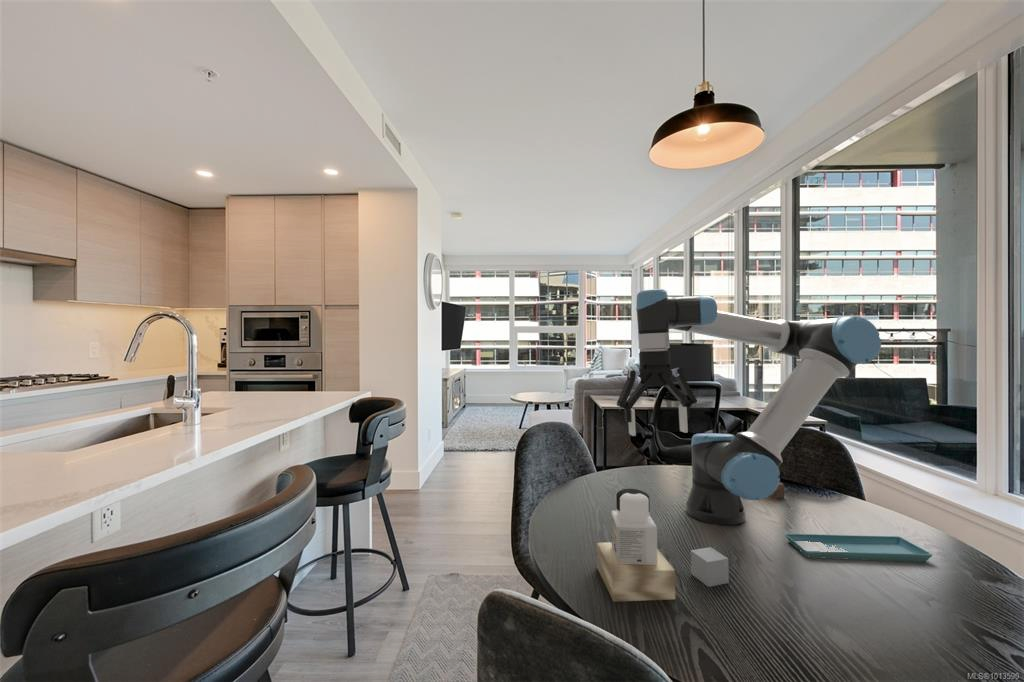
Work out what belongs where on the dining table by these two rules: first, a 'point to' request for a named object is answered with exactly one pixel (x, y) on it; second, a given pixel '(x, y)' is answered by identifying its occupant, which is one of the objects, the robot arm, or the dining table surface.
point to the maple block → (635, 577)
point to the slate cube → (709, 566)
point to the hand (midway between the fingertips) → (658, 433)
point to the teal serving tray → (864, 547)
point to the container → (633, 529)
